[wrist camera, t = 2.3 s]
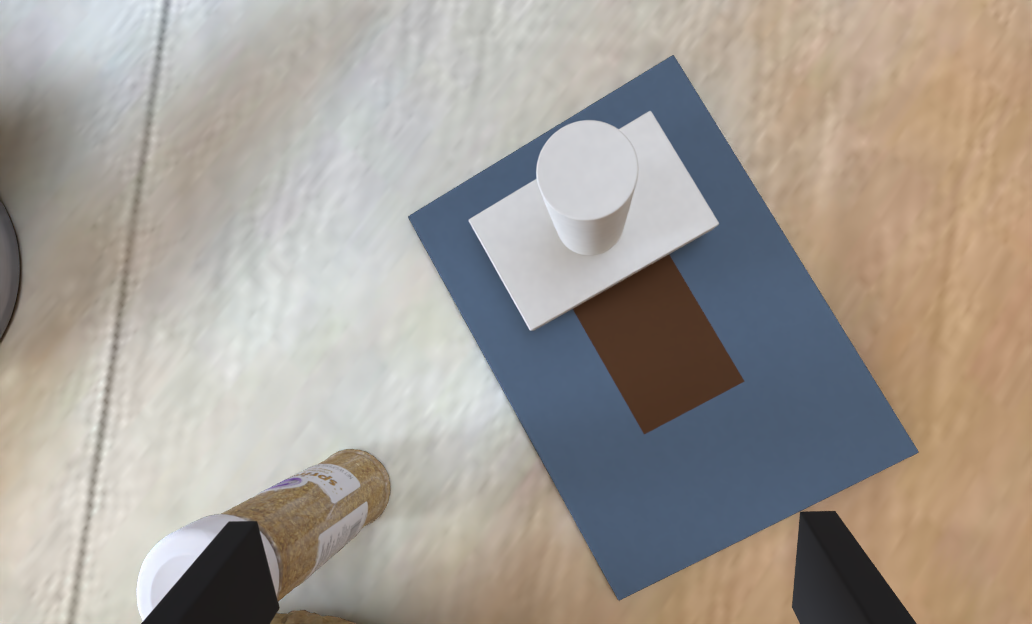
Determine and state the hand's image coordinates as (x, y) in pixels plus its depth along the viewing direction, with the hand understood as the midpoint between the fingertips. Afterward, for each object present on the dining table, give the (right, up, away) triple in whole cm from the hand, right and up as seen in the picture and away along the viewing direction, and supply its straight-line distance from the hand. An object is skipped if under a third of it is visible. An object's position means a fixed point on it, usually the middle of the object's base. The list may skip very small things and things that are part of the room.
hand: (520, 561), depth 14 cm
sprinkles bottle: (-9, -4, +19) cm, 22 cm away
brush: (+4, +10, +17) cm, 20 cm away
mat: (+7, +5, +17) cm, 19 cm away
